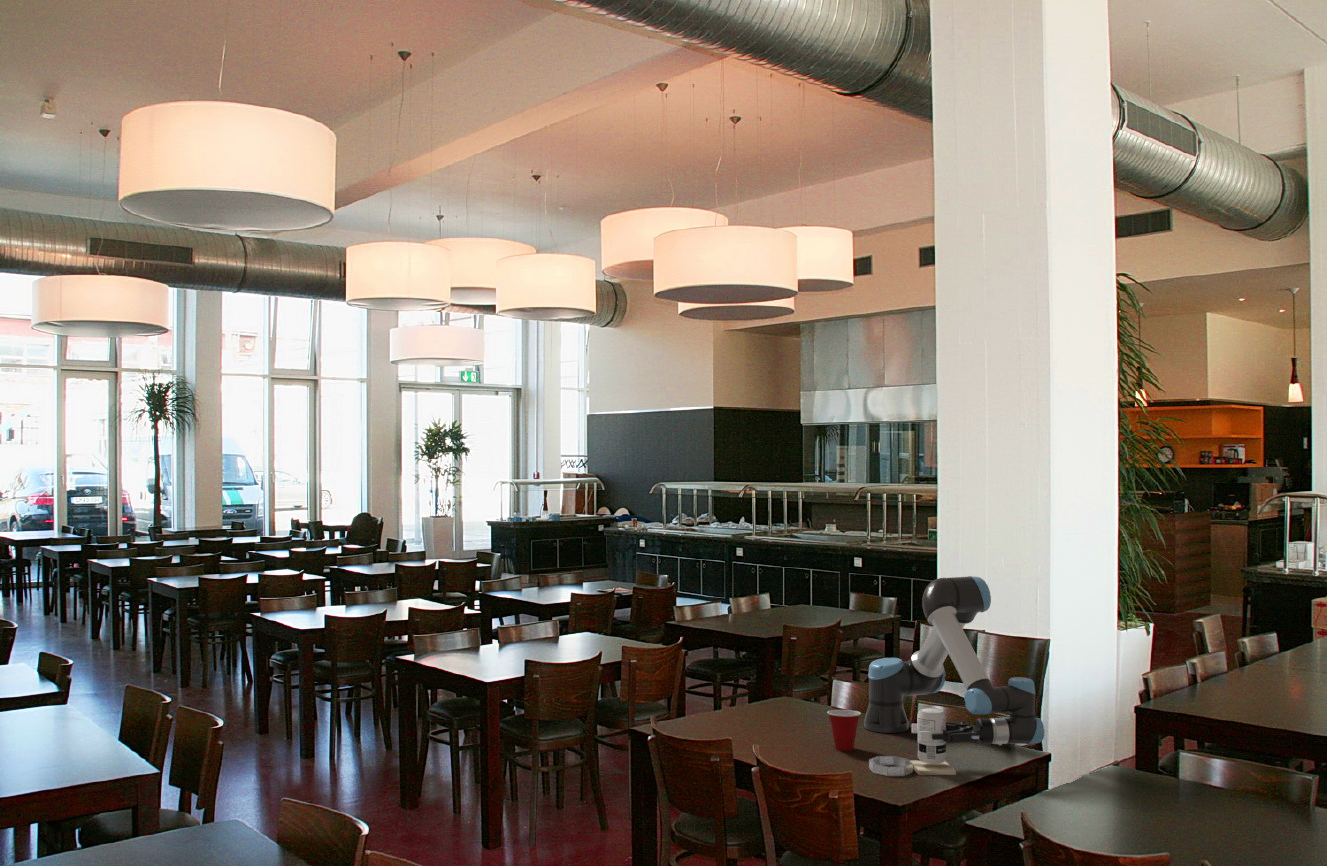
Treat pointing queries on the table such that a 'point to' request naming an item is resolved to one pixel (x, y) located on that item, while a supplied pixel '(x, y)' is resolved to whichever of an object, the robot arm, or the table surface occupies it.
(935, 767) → the board
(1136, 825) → the table surface
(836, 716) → the plastic cup
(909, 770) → the collar
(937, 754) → the supplement can
